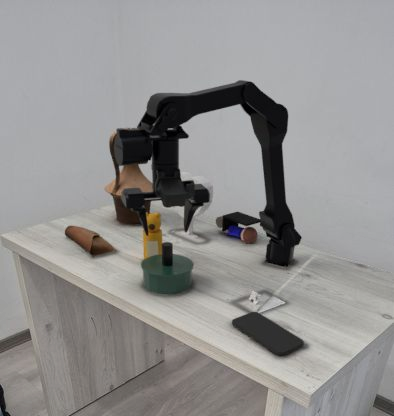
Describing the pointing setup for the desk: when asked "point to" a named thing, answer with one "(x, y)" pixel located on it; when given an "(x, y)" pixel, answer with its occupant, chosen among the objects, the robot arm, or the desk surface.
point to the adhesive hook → (255, 297)
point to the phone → (268, 333)
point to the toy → (152, 236)
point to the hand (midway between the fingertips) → (166, 233)
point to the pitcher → (127, 179)
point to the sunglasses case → (89, 240)
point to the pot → (167, 283)
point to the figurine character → (232, 228)
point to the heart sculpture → (200, 210)
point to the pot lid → (167, 263)
